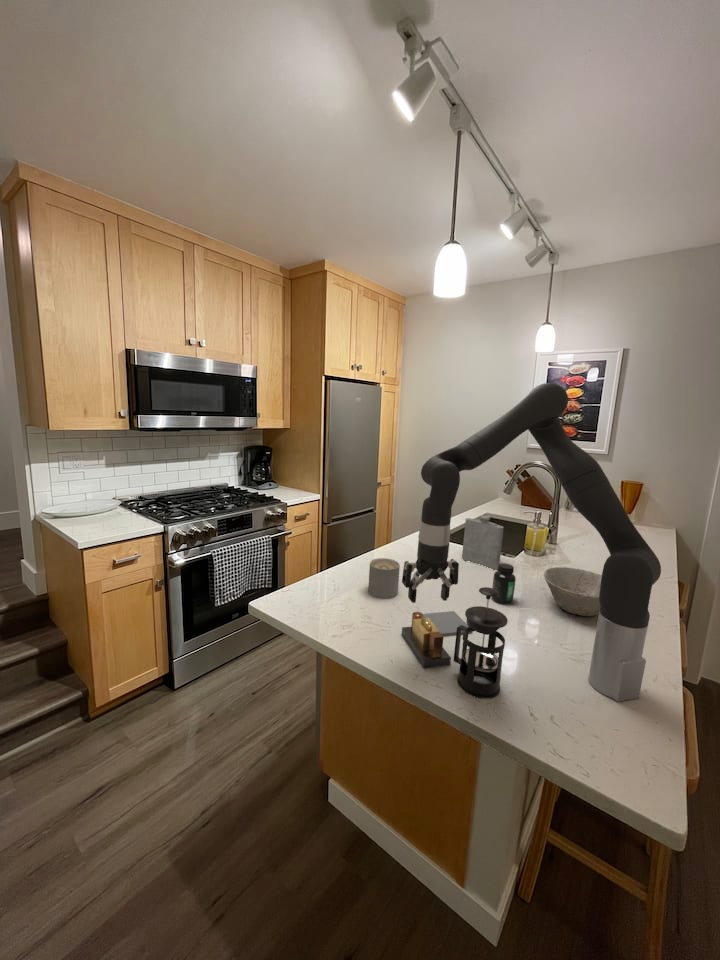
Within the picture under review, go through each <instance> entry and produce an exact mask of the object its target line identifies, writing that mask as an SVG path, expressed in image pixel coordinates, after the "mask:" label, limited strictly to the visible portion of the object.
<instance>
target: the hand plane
mask: <svg viewBox="0 0 720 960" xmlns="http://www.w3.org/2000/svg"><path fill="white" fill-rule="evenodd" d="M423 614H424V613H422V612H419V611H414V612H413V613H412V615H411V616H412V617H411V626H403V627H401V636H402V637H403V639H404V640H405V642H406V643H407V645H408V646H409V648H410V649H411V651H412V653H413V655H415V657H416V659H417V660H418V663H420V665H421V666H422V668H423V669H427V668H428V669H431V668H435V667H444V666H445V667H446V666H451V659H452V657H451V656H450V654H449V653H448V652H447V651H446V649H445V648H444V646H443V645H444V636H442V634H441V633H440V632H430V639H429V650H422V649H421V647H420V646H419V644H418V643H417V642H416V640H415V639H414V637H413V636H412V629H413V619H422V618H423Z"/></svg>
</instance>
